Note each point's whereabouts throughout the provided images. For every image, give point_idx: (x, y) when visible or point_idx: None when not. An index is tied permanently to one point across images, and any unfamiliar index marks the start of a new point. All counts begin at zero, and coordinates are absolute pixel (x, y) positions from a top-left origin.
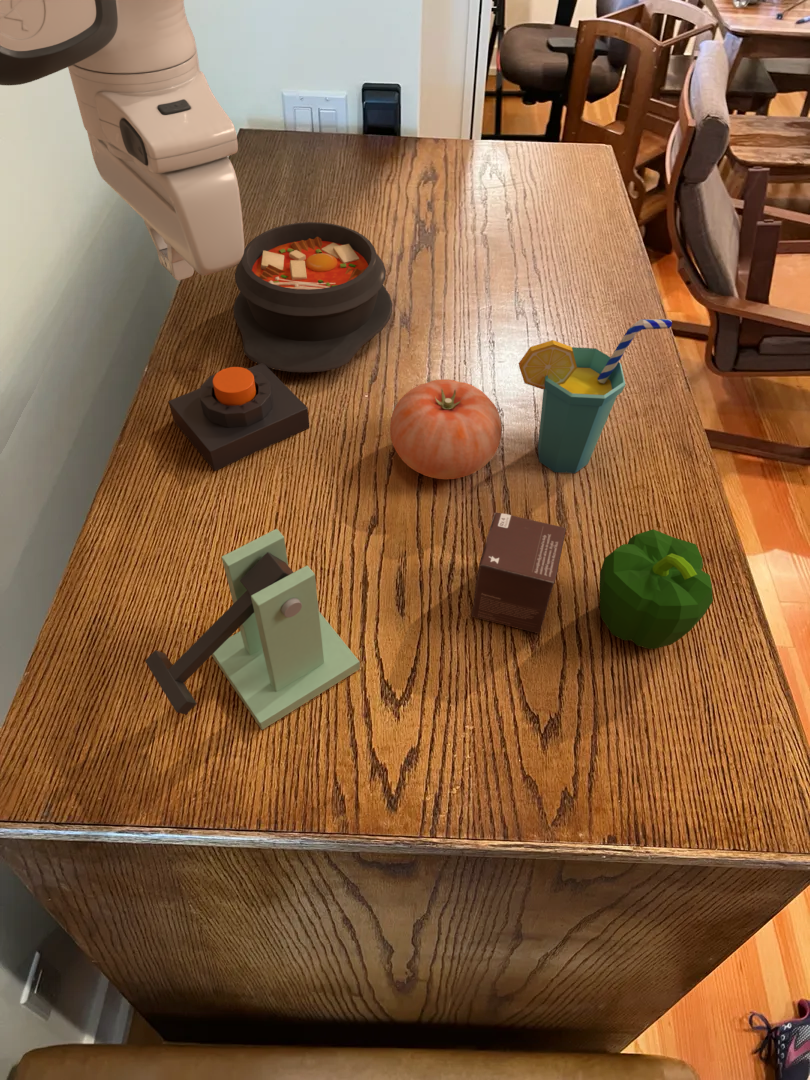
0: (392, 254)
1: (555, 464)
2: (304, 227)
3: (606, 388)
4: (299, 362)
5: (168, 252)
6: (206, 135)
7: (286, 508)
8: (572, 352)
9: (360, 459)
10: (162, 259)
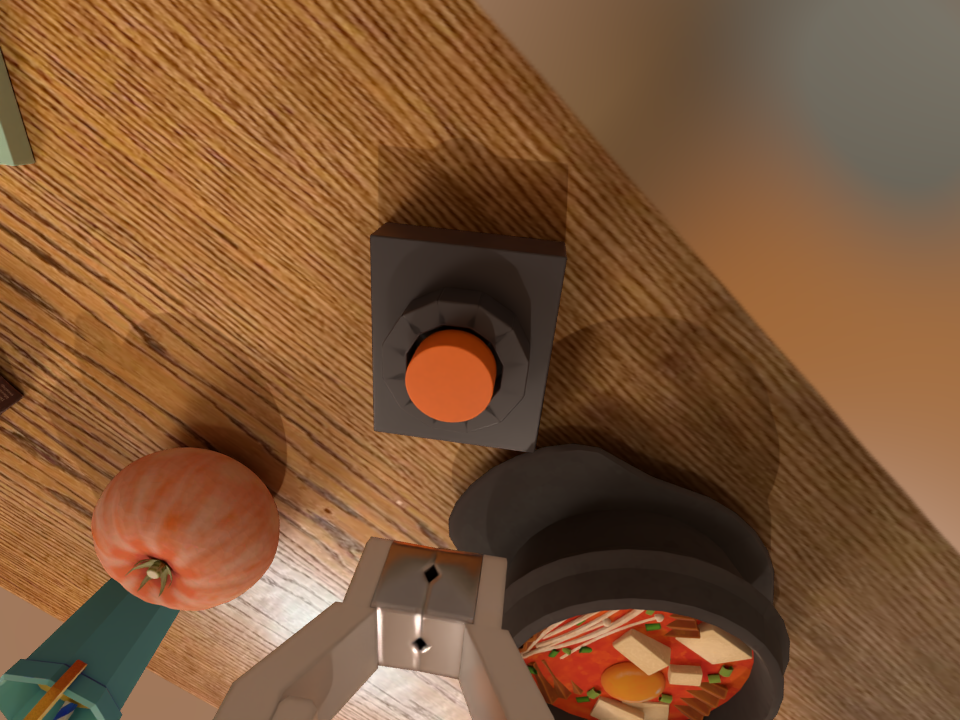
0: None
1: None
2: None
3: (62, 695)
4: (498, 491)
5: (318, 648)
6: None
7: (238, 264)
8: None
9: (280, 412)
10: (457, 586)
